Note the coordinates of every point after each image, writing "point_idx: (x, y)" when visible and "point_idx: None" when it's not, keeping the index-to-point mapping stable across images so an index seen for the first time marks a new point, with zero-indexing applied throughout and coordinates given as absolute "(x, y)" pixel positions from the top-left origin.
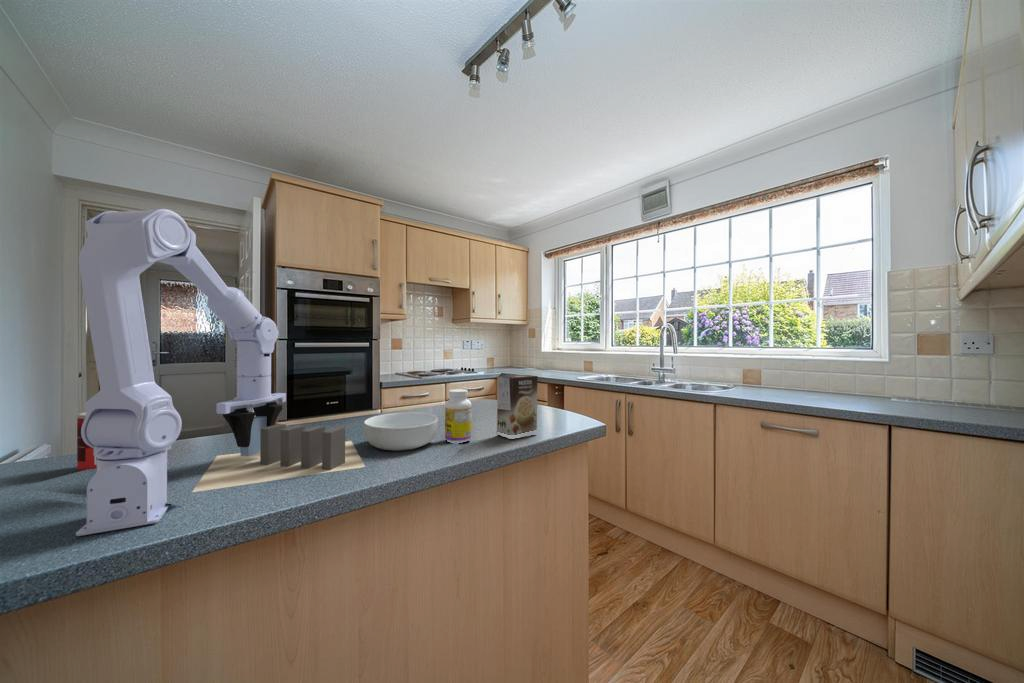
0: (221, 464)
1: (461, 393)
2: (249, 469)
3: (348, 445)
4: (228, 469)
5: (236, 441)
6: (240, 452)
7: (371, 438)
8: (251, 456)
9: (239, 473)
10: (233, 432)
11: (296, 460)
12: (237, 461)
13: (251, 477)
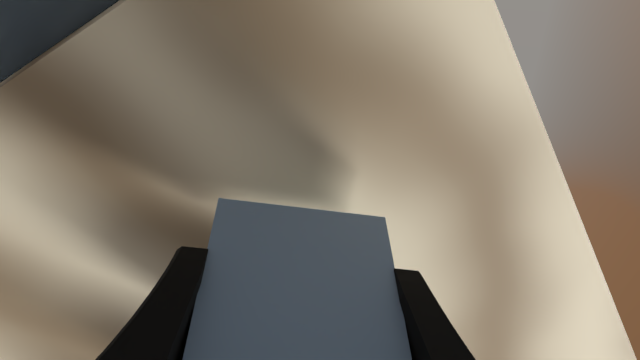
0: (173, 65)
1: None
2: (129, 280)
3: None
4: (93, 184)
5: (164, 275)
6: (215, 213)
7: None
8: (380, 138)
9: (58, 276)
10: (115, 339)
11: None
12: (257, 124)
13: (35, 345)
